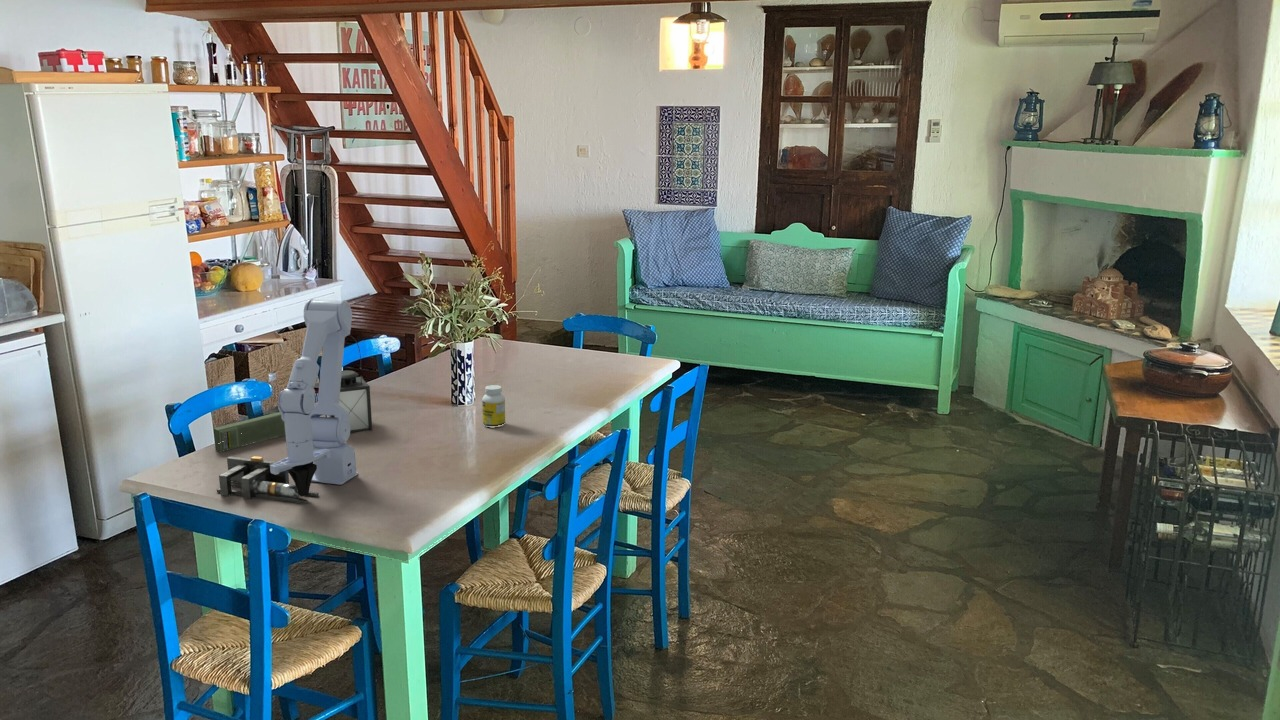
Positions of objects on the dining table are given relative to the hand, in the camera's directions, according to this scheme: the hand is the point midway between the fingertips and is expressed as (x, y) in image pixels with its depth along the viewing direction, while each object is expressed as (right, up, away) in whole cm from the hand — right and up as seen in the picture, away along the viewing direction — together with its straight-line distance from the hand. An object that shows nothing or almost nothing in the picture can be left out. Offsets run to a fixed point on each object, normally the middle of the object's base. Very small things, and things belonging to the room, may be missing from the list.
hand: (303, 494), depth 219 cm
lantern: (-5, +12, +52) cm, 54 cm away
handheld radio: (-26, +9, +41) cm, 49 cm away
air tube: (-7, 0, +3) cm, 8 cm away
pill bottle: (+36, +12, +56) cm, 67 cm away
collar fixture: (-10, 0, +4) cm, 11 cm away
